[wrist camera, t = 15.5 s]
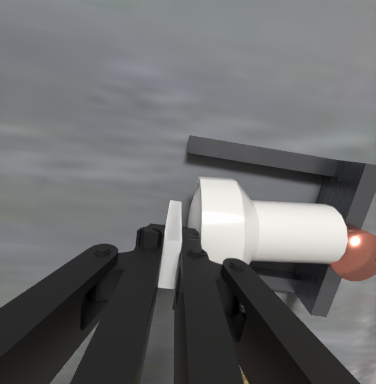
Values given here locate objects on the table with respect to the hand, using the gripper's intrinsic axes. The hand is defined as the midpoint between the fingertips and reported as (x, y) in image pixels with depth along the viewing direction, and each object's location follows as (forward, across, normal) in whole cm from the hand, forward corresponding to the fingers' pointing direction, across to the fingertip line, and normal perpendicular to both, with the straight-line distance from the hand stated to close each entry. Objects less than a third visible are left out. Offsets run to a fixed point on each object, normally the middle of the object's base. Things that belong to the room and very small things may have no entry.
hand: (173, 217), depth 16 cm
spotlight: (+3, +7, 0) cm, 8 cm away
